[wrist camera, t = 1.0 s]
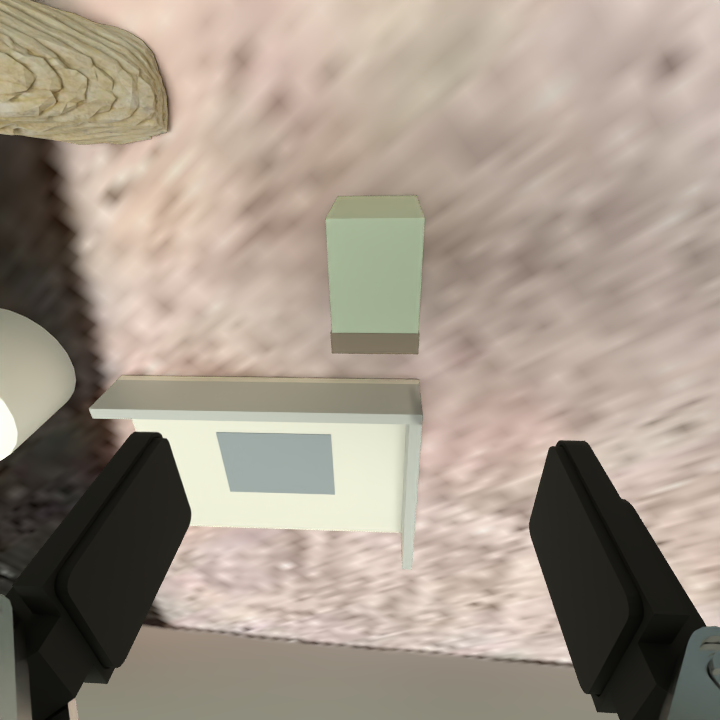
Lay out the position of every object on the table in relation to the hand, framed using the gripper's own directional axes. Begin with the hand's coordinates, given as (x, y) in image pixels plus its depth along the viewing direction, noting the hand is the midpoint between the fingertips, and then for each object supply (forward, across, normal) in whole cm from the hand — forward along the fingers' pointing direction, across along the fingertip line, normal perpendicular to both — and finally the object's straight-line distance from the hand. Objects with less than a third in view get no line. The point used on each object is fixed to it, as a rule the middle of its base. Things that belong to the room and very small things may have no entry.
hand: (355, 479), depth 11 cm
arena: (+18, +8, +17) cm, 26 cm away
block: (+18, 0, 0) cm, 18 cm away
